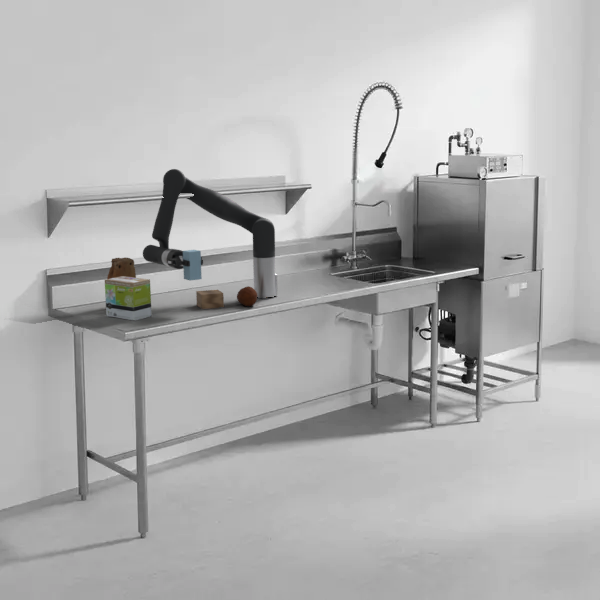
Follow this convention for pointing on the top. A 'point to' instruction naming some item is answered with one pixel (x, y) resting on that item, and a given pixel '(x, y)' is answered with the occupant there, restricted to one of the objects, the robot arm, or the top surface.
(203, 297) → the brown wooden block
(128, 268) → the brown tapered piece
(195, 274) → the pillar
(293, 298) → the top surface
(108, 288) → the tea box
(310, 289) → the top surface
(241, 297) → the potato
